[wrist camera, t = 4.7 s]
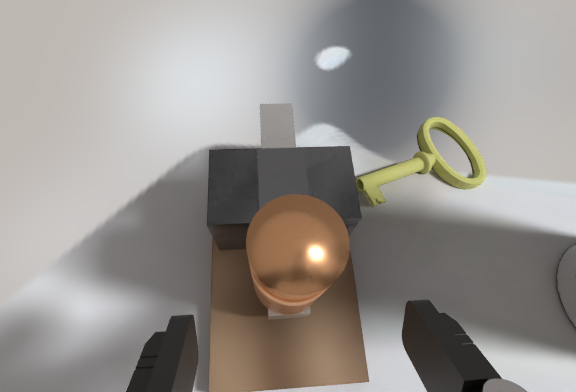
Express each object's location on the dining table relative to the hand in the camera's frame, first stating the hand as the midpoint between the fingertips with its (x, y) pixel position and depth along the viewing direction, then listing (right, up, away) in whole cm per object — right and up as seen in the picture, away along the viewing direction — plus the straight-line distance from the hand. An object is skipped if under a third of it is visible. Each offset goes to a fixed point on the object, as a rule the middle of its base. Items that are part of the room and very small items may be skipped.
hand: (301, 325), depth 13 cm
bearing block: (-1, +3, +14) cm, 14 cm away
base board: (-1, -1, +12) cm, 12 cm away
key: (+11, +7, +17) cm, 22 cm away
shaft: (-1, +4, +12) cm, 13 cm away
